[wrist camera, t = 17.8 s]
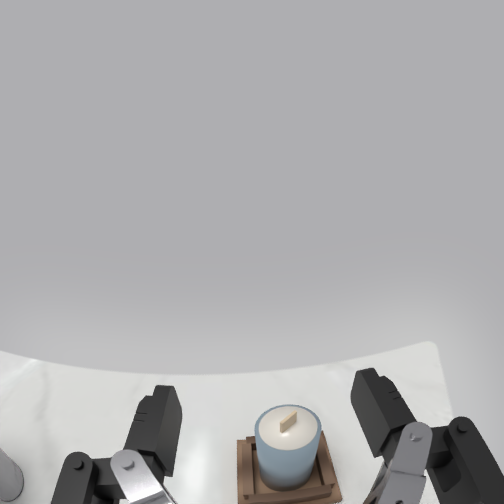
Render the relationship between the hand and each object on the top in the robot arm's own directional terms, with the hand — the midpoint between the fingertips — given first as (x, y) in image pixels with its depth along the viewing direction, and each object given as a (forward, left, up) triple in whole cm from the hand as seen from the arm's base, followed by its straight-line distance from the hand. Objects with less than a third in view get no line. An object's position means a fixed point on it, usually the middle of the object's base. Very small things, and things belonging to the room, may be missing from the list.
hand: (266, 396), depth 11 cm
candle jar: (+6, +4, -25) cm, 26 cm away
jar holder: (+7, +4, -26) cm, 27 cm away
